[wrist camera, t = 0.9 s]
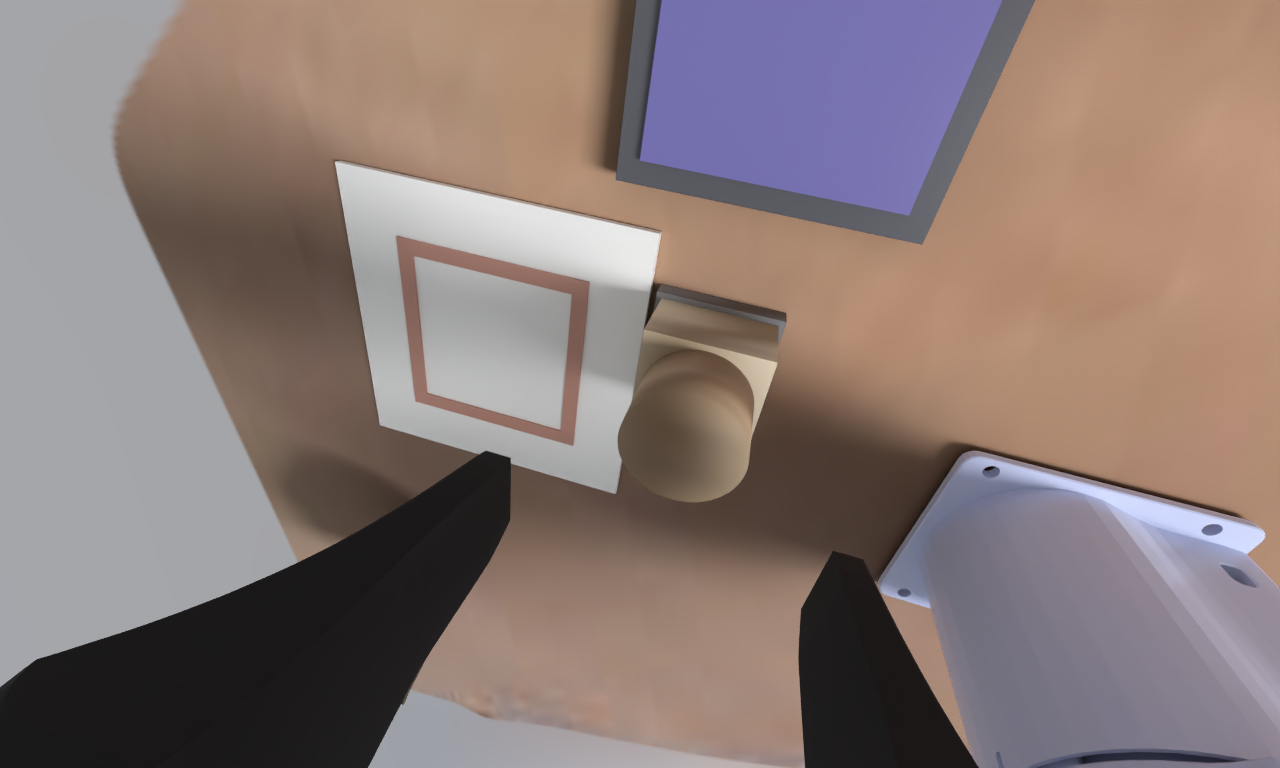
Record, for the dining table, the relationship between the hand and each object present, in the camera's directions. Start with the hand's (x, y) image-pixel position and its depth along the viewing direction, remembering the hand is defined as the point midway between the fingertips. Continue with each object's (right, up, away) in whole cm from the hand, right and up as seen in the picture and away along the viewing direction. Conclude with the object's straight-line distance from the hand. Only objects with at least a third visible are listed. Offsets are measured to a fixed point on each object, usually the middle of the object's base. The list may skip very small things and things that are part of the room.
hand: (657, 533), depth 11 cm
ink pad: (+4, +13, +2) cm, 13 cm away
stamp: (+2, +4, +7) cm, 9 cm away
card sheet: (-6, +5, +9) cm, 12 cm away
